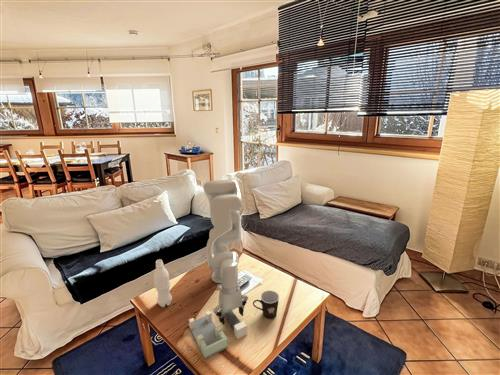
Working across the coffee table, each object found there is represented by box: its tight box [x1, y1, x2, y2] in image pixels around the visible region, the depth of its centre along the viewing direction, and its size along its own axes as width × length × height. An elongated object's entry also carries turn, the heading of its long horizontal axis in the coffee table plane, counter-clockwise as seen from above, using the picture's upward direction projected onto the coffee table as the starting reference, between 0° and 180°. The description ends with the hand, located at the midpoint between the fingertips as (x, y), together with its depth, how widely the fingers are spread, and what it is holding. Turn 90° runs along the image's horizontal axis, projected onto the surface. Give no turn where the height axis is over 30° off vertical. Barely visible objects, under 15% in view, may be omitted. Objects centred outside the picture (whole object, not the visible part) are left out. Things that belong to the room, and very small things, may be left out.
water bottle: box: [153, 258, 173, 308], centre depth 133 cm, size 7×7×25 cm
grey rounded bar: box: [224, 310, 248, 340], centre depth 123 cm, size 19×5×5 cm, turn 31°
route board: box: [187, 310, 228, 360], centre depth 116 cm, size 10×20×5 cm, turn 31°
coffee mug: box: [252, 290, 280, 320], centre depth 127 cm, size 12×9×10 cm
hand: (231, 318), depth 124 cm, fingers open, 9 cm apart
